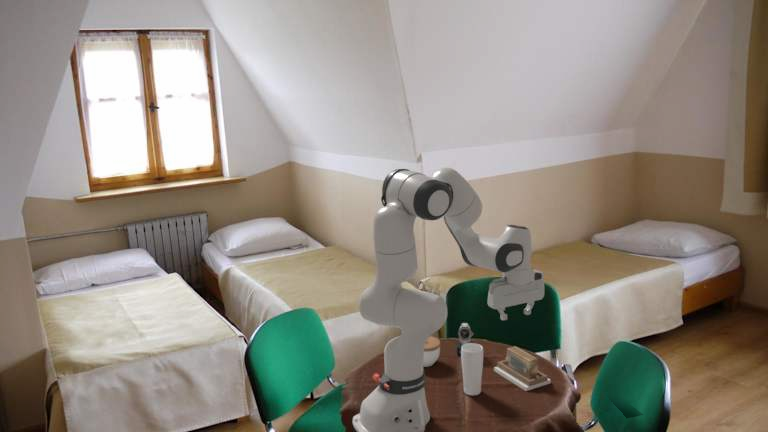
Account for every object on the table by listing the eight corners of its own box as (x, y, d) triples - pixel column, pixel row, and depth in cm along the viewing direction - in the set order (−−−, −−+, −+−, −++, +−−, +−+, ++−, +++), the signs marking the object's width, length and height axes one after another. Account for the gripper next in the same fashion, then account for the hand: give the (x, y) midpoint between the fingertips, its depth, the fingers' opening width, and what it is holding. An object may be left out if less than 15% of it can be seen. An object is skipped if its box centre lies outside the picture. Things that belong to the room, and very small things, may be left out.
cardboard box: (528, 381, 192) (528, 361, 191) (506, 368, 202) (506, 348, 200) (537, 378, 194) (537, 358, 193) (514, 365, 204) (515, 346, 202)
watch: (457, 358, 213) (457, 328, 211) (457, 348, 221) (456, 319, 219) (473, 358, 213) (473, 329, 210) (472, 348, 220) (472, 320, 218)
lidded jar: (405, 358, 214) (404, 333, 212) (434, 354, 217) (433, 329, 215) (415, 372, 204) (414, 346, 202) (445, 367, 207) (444, 341, 205)
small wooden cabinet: (525, 391, 189) (526, 380, 188) (494, 370, 203) (494, 360, 202) (550, 383, 194) (550, 372, 193) (517, 363, 207) (517, 353, 207)
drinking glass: (482, 398, 186) (482, 352, 182) (460, 396, 187) (460, 351, 184) (483, 387, 192) (483, 343, 189) (462, 386, 194) (461, 342, 190)
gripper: (495, 283, 185) (495, 326, 187) (548, 273, 194) (546, 314, 196) (483, 277, 190) (483, 319, 193) (534, 268, 199) (533, 308, 202)
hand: (515, 316), depth 195 cm, fingers open, 8 cm apart
